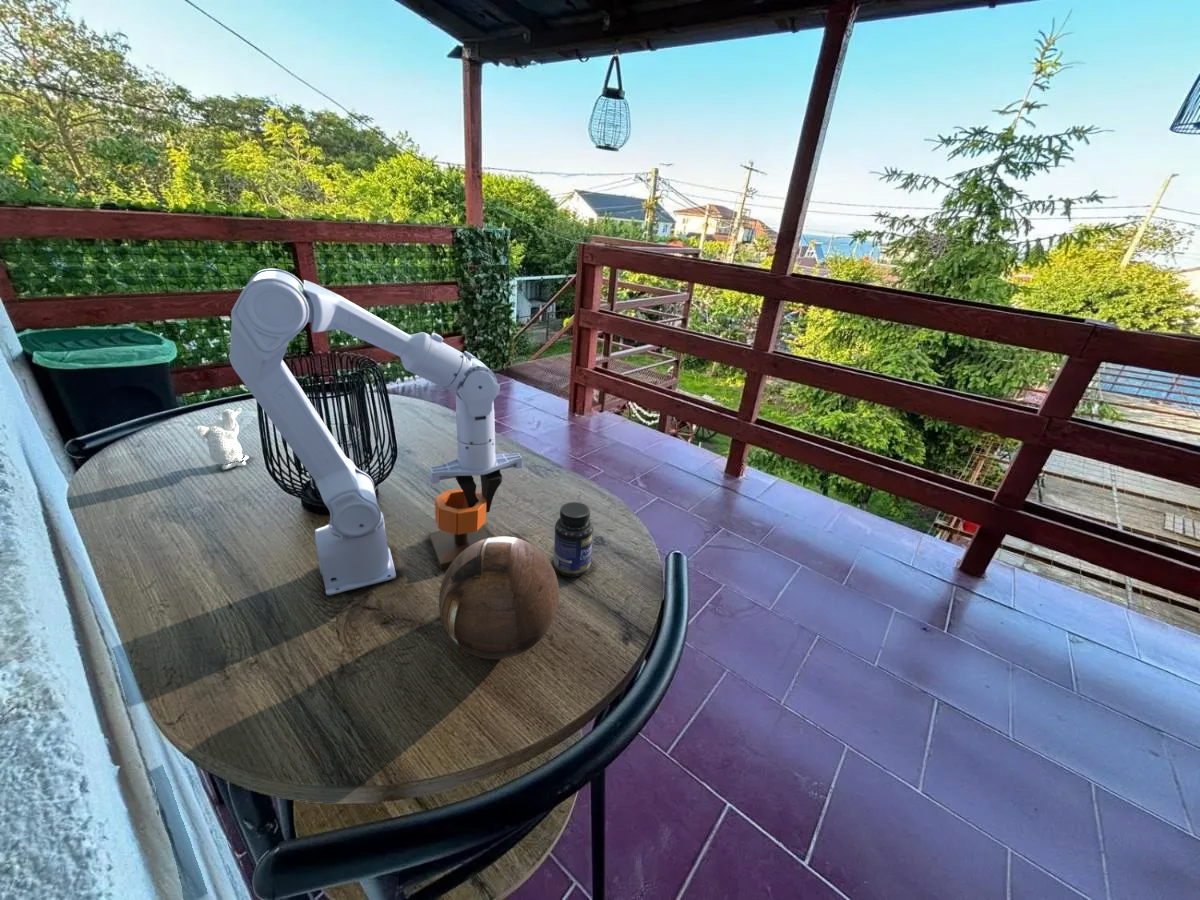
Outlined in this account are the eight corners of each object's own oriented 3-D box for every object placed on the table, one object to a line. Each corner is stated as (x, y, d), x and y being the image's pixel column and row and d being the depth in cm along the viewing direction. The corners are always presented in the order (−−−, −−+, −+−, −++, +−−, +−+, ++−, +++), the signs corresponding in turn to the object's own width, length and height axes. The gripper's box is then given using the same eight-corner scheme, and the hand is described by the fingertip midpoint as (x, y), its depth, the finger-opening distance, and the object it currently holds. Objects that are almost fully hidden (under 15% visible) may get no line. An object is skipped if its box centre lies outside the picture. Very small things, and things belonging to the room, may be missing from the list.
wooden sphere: (540, 589, 74) (542, 507, 67) (571, 667, 61) (578, 575, 55) (438, 611, 68) (429, 524, 62) (450, 702, 56) (441, 604, 49)
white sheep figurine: (248, 453, 105) (234, 402, 100) (263, 463, 102) (249, 410, 97) (202, 466, 99) (185, 412, 94) (216, 477, 96) (199, 422, 91)
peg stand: (441, 569, 76) (437, 532, 73) (429, 538, 83) (425, 503, 80) (496, 555, 80) (495, 519, 77) (480, 526, 87) (479, 492, 84)
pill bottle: (585, 581, 76) (589, 523, 71) (548, 574, 77) (550, 516, 72) (593, 557, 82) (598, 502, 77) (559, 551, 83) (561, 496, 78)
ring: (442, 537, 75) (442, 515, 73) (432, 512, 80) (432, 491, 79) (490, 529, 78) (491, 508, 77) (477, 506, 84) (477, 486, 83)
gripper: (512, 421, 81) (512, 491, 87) (422, 433, 74) (429, 507, 80) (527, 438, 75) (526, 510, 81) (432, 452, 69) (439, 530, 75)
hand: (479, 510), depth 80 cm, fingers closed on ring, 2 cm apart
